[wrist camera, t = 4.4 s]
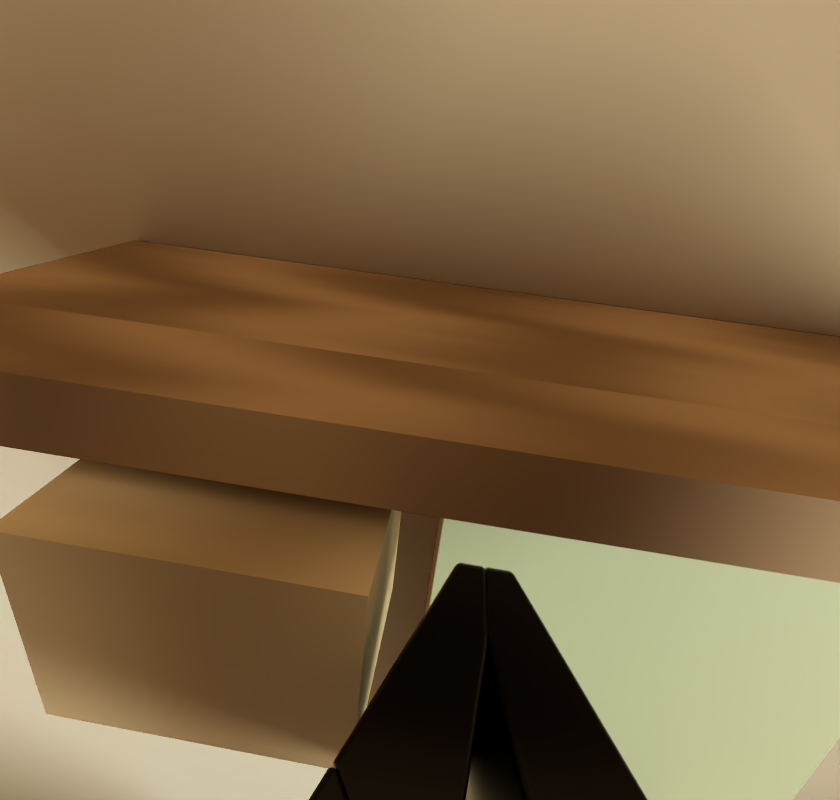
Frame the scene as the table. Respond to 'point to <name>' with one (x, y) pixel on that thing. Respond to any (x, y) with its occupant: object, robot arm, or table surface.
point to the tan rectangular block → (201, 607)
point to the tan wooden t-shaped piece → (433, 401)
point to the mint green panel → (682, 657)
